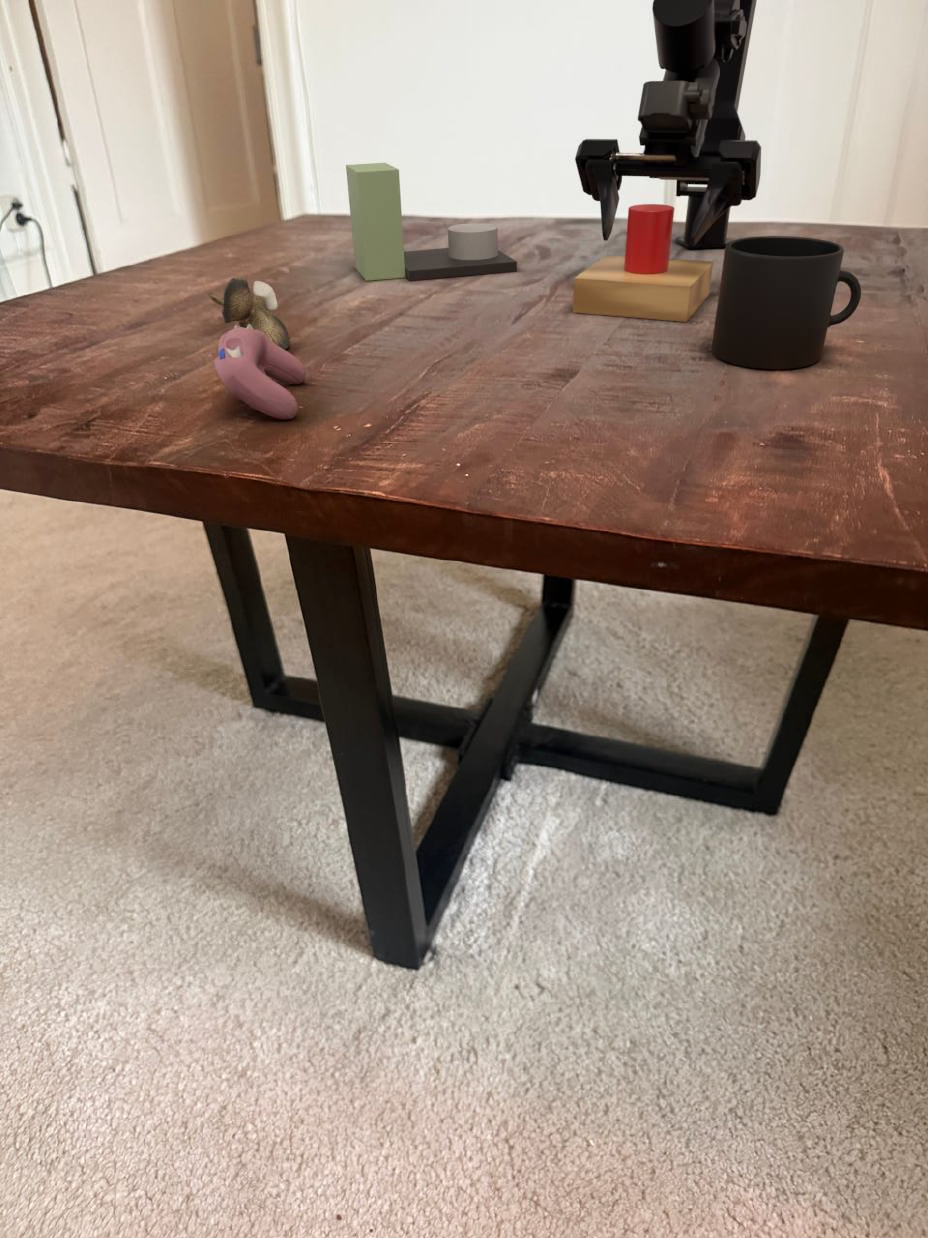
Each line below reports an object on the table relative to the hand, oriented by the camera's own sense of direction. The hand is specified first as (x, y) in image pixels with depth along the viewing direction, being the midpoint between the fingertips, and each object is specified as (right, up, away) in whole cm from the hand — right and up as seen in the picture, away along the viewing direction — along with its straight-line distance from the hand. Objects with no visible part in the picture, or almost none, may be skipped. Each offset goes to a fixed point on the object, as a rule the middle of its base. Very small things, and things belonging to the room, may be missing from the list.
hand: (647, 240), depth 87 cm
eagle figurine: (-40, -13, -5) cm, 42 cm away
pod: (0, -2, +2) cm, 3 cm away
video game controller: (-35, -22, -19) cm, 46 cm away
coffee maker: (-23, +6, +22) cm, 32 cm away
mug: (+9, -16, -12) cm, 22 cm away
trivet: (0, -5, +4) cm, 6 cm away
